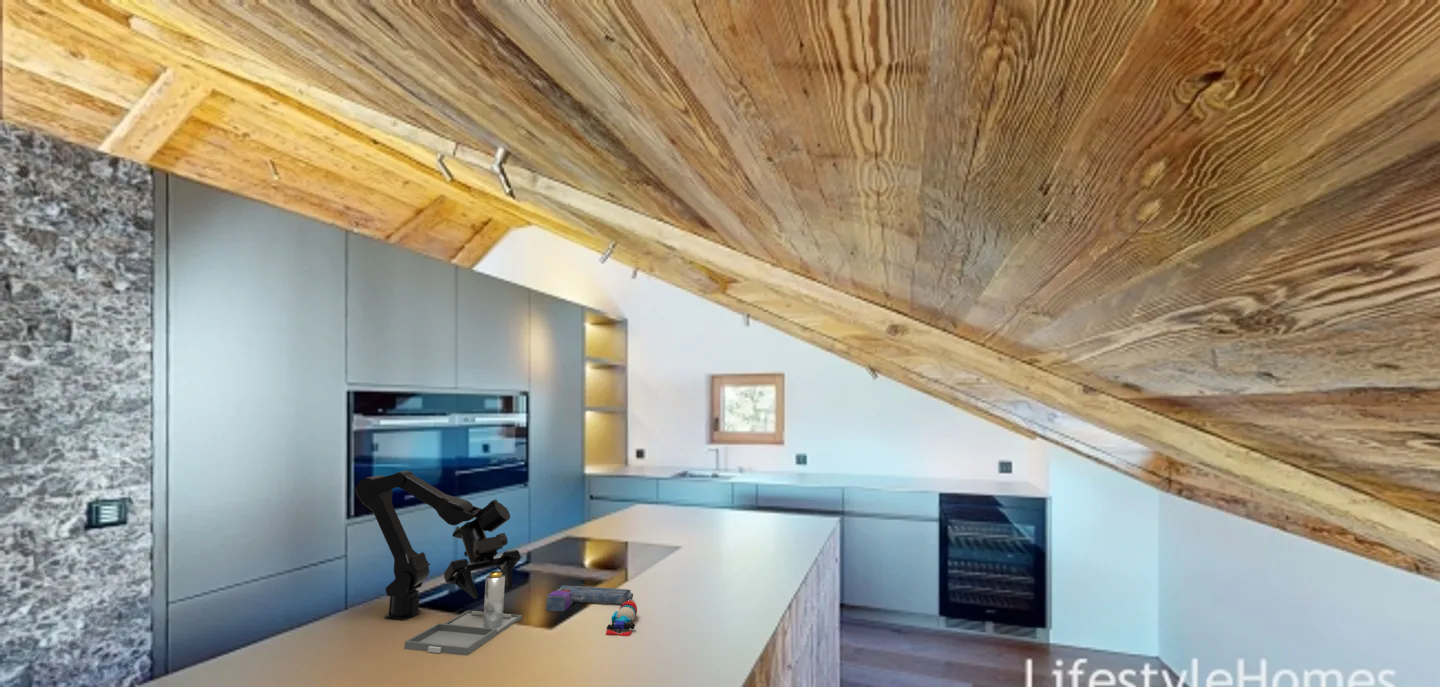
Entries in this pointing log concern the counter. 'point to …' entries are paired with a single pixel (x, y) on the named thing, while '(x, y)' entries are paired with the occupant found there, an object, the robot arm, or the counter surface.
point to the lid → (477, 620)
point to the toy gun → (585, 596)
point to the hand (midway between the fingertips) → (493, 594)
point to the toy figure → (623, 619)
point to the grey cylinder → (494, 600)
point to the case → (451, 639)
